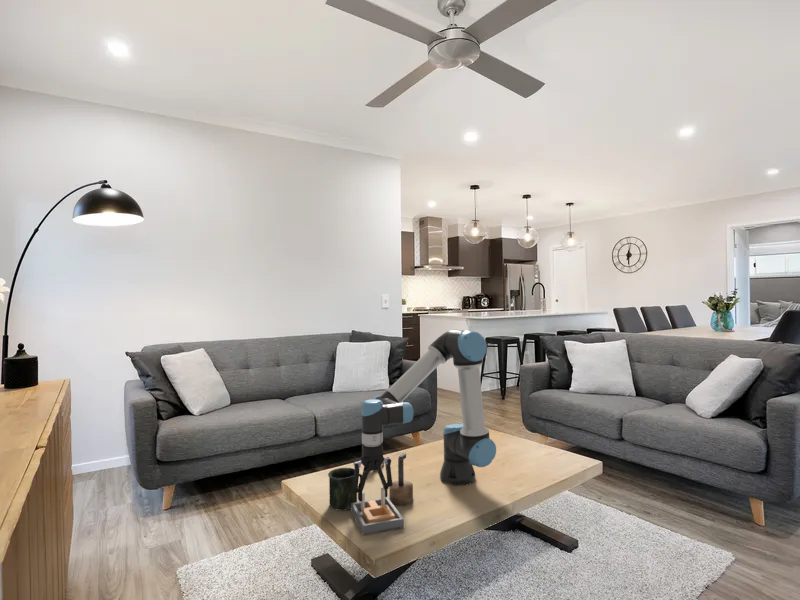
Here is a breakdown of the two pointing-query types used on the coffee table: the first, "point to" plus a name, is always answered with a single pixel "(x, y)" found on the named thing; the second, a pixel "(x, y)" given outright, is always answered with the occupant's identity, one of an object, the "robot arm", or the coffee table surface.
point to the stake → (401, 487)
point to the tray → (377, 526)
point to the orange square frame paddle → (377, 513)
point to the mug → (342, 488)
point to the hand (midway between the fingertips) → (373, 508)
